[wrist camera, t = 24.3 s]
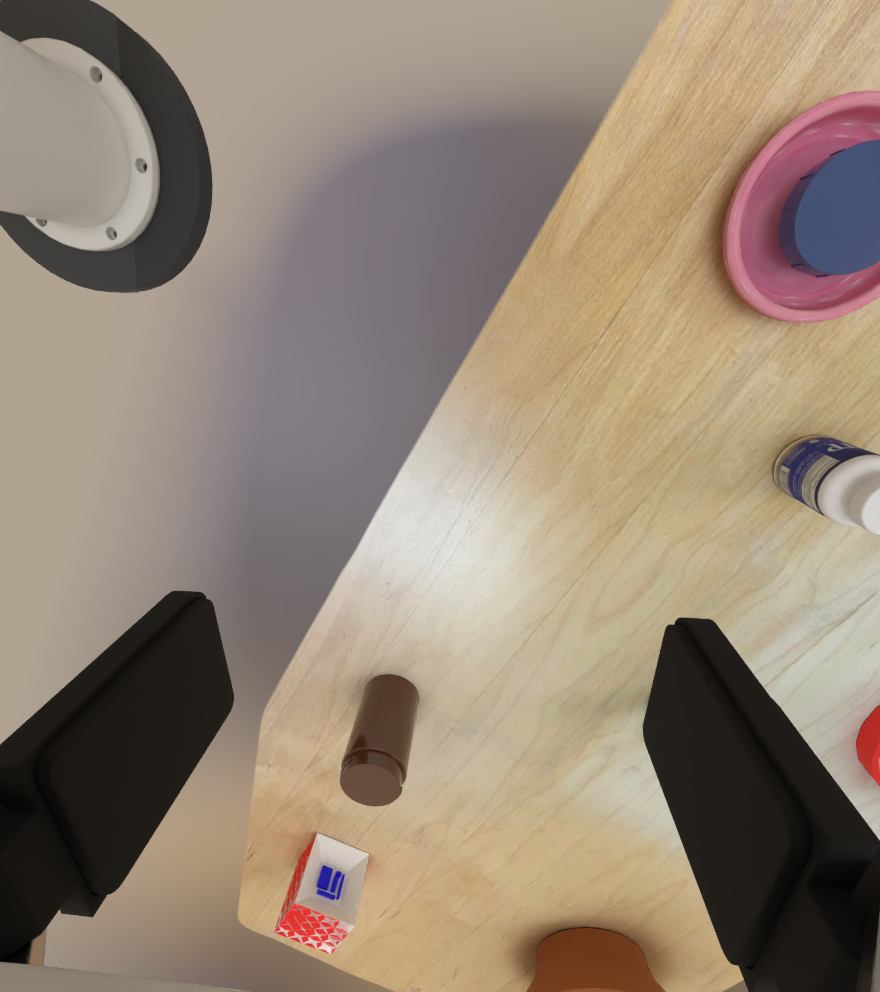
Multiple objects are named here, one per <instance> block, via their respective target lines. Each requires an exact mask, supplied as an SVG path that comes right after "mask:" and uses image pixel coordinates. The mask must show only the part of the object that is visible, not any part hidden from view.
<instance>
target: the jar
mask: <svg viewBox="0 0 880 992" xmlns="http://www.w3.org/2000/svg"><path fill="white" fill-rule="evenodd" d="M418 703H419V695H418V692H417V690H416V688H415V687H414V686H413V685H412V684H411V683H410V682H409V681H408V680H406V679H404V678H402V677H399V676H395V675H381V676H378V677H375V678H373V679H372V680H371V681H369V683H368V684H367V685H366V687H365V690H364V693H363V696H362V700H361V703H360V706H359V709H358V712H357V715H356V719H355V722H354V725H353V728H352V731H351V735H350V738H349V741H348V744H347V747H346V750H345V754H344V757H343V760H342V764H341V768H342V770H341V776H340V777H341V778H340V785H341V788H342V790H343V791H344V793H345V794H346V795H347V796H348V797H349V798H351V799H352V800H354V801H356V802H358V803H360V804H363V805H367V806H384V805H387V804H390V803H392V802H393V801H395V800H396V799H397V798H398V797H399V796H400V794H401V792H402V787H401V786H402V785H403V783H404V782H405V779H406V775H407V769H408V763H409V757H410V751H411V745H412V739H413V733H414V727H415V721H416V715H417V709H418Z"/></svg>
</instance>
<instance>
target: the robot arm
mask: <svg viewBox="0 0 880 992" xmlns="http://www.w3.org/2000/svg"><path fill="white" fill-rule="evenodd" d="M159 189H160V165H159V159H158V153H157V147H156V144H155V140H154V137H153V134H152V131H151V128H150V125H149V123H148V121H147V119H146V117H145V115H144V113H143V111H142V109H141V107H140V105H139V104H138V102H137V101H136V99H135V98H134V96H133V94H132V93H131V91H130V90H129V88H128V87H127V86H126V85H125V84H124V83H123V82H122V81H121V80H120V78H119V77H118V76H117V75H116V74H115V73H114V72H113V71H112V70H110V69H109V68H108V67H107V66H106V65H104V64H103V63H102V62H101V61H99V60H98V59H96V58H95V57H93V56H92V55H90V54H88V53H87V52H85V51H84V50H82V49H81V48H79V47H76V46H74V45H72V44H69V43H67V42H65V41H61V40H56V39H50V38H34V39H28V40H25V41H22V42H18V41H17V40H15V39H13V38H12V37H10V36H8V35H6V34H5V33H3V32H1V31H0V211H4V212H9V213H14V214H19V215H24V216H25V217H26V218H27V219H28V220H29V221H30V222H31V223H32V224H33V225H34V226H35V227H37V228H38V229H39V230H41V231H42V232H44V233H45V234H46V235H48V236H49V237H51V238H53V239H55V240H57V241H58V242H60V243H62V244H64V245H67V246H71V247H74V248H77V249H81V250H88V251H95V252H98V251H112V250H116V249H119V248H123V247H124V246H126V245H128V244H130V243H131V242H133V241H135V240H136V239H137V238H138V237H139V236H140V235H141V234H142V233H143V232H144V230H145V229H146V227H147V226H148V224H149V222H150V221H151V219H152V217H153V214H154V211H155V208H156V206H157V203H158V196H159ZM233 702H234V693H233V689H232V684H231V680H230V675H229V671H228V667H227V662H226V658H225V654H224V649H223V645H222V641H221V636H220V632H219V628H218V624H217V619H216V615H215V610H214V606H213V603H212V602H211V601H210V600H208V599H206V596H205V595H204V594H203V593H201V592H191V591H172V592H170V593H169V594H168V595H166V596H165V597H164V598H163V599H162V600H161V601H160V602H158V603H157V604H156V605H155V606H154V607H153V608H152V609H151V610H150V611H148V612H147V613H146V614H145V615H144V616H143V617H142V618H141V619H140V620H138V621H137V622H136V623H135V624H134V625H133V626H132V627H131V628H130V629H128V630H127V631H126V632H125V633H124V634H123V635H122V636H121V637H120V638H118V639H117V640H116V641H115V642H114V643H113V644H112V645H111V646H109V647H108V648H107V649H106V650H105V651H104V652H103V653H102V654H101V655H99V656H98V657H97V658H96V659H95V660H94V661H93V662H92V663H91V664H90V665H88V666H87V667H86V668H85V669H84V670H83V671H82V672H81V673H79V674H78V675H77V676H76V677H75V678H74V679H73V680H72V681H71V682H69V683H68V684H67V685H66V686H65V687H64V688H63V689H62V690H61V691H59V693H57V694H56V695H55V696H54V697H53V698H52V699H51V700H50V701H48V702H47V703H46V704H45V705H44V706H43V707H42V708H41V709H39V710H38V711H37V712H36V713H35V714H34V715H33V716H32V717H31V718H29V719H28V720H27V721H26V722H25V723H24V724H23V725H22V726H21V727H20V728H18V729H17V730H16V731H15V732H14V733H13V734H12V735H11V736H10V737H8V738H7V739H6V740H5V741H4V742H3V743H2V744H1V745H0V992H253V991H245V990H237V989H229V988H221V987H213V986H205V985H195V984H188V983H180V982H171V981H164V980H155V979H147V978H139V977H131V976H122V975H114V974H106V973H98V972H89V971H81V970H73V969H64V968H57V967H49V966H44V954H45V942H46V930H47V926H48V925H49V923H50V922H51V920H52V919H53V918H54V916H55V915H56V913H57V912H58V910H59V909H60V911H61V913H62V914H70V915H79V916H88V917H93V916H94V915H95V913H96V911H97V910H98V908H99V907H100V905H101V904H102V902H103V901H104V899H105V898H106V895H108V894H111V893H113V892H115V891H116V890H117V889H118V888H119V887H120V885H121V884H122V882H123V881H124V880H125V878H126V877H127V875H128V874H129V872H130V870H131V869H132V867H133V866H134V864H135V862H136V861H137V859H138V858H139V856H140V854H141V853H142V851H143V850H144V848H145V846H146V845H147V843H148V842H149V840H150V838H151V837H152V835H153V834H154V832H155V831H156V829H157V827H158V826H159V824H160V823H161V821H162V820H163V818H164V816H165V814H166V813H167V812H168V810H169V808H170V807H171V805H172V804H173V802H174V800H175V799H176V797H177V796H178V794H179V793H180V791H181V789H182V788H183V786H184V785H185V783H186V781H187V780H188V778H189V777H190V775H191V774H192V772H193V770H194V769H195V767H196V766H197V764H198V762H199V761H200V759H201V758H202V756H203V754H204V753H205V751H206V750H207V748H208V746H209V745H210V743H211V742H212V740H213V739H214V737H215V735H216V734H217V732H218V731H219V729H220V727H221V726H222V724H223V723H224V721H225V719H226V718H227V716H228V715H229V713H230V711H231V709H232V706H233ZM643 736H644V741H645V745H646V747H647V750H648V753H649V755H650V758H651V761H652V764H653V766H654V769H655V772H656V774H657V777H658V780H659V782H660V785H661V788H662V790H663V793H664V796H665V798H666V801H667V804H668V806H669V809H670V812H671V814H672V817H673V820H674V822H675V825H676V828H677V830H678V833H679V836H680V838H681V841H682V844H683V846H684V849H685V852H686V854H687V857H688V860H689V863H690V865H691V868H692V871H693V873H694V876H695V879H696V881H697V884H698V887H699V889H700V892H701V895H702V897H703V900H704V903H705V905H706V908H707V911H708V913H709V916H710V919H711V921H712V924H713V927H714V929H715V932H716V935H717V937H718V940H719V943H720V945H721V948H722V950H723V952H724V954H725V956H726V958H727V960H728V961H729V962H730V963H731V964H733V965H739V968H740V970H741V973H742V976H743V978H744V981H745V983H746V986H747V988H748V991H749V992H880V840H879V839H878V838H877V836H876V835H875V834H874V832H873V831H872V830H871V828H870V827H869V826H868V824H867V823H866V822H865V820H864V819H863V818H862V816H861V815H860V814H859V812H858V811H857V810H856V808H855V807H854V806H853V804H852V803H851V802H850V800H849V799H848V798H847V796H846V795H845V794H844V792H843V791H842V790H841V788H840V787H839V786H838V784H837V783H836V782H835V780H834V779H833V777H832V776H831V775H830V773H829V772H828V771H827V769H826V768H825V767H824V765H823V764H822V763H821V761H820V760H819V759H818V757H817V756H816V755H815V753H814V752H813V751H812V749H811V748H810V747H809V745H808V744H807V743H806V741H805V740H804V739H803V737H802V736H801V735H800V733H799V732H798V731H797V729H796V728H795V727H794V725H793V724H792V723H791V721H790V720H789V719H788V717H787V716H786V715H785V713H784V712H783V711H782V709H781V708H780V707H779V705H778V704H777V703H776V702H775V701H774V700H773V699H772V698H771V697H770V696H769V694H768V693H767V692H766V690H765V689H764V688H763V686H762V685H761V684H760V682H759V681H758V680H757V678H756V677H755V676H754V674H753V673H752V672H751V670H750V669H749V668H748V666H747V665H746V663H745V662H744V661H743V659H742V658H741V657H740V655H739V654H738V653H737V651H736V650H735V649H734V647H733V646H732V645H731V643H730V642H729V641H728V639H727V638H726V637H725V635H724V634H723V633H722V631H721V630H720V628H719V627H718V626H717V624H716V623H715V622H714V621H713V620H710V619H699V618H678V619H677V620H676V621H675V624H674V625H668V626H667V627H666V629H665V633H664V637H663V641H662V646H661V650H660V654H659V658H658V663H657V667H656V671H655V676H654V680H653V684H652V688H651V693H650V697H649V701H648V706H647V710H646V714H645V718H644V723H643Z"/></svg>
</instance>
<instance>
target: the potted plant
mask: <svg viewBox="0 0 880 992" xmlns="http://www.w3.org/2000/svg"><path fill="white" fill-rule="evenodd" d="M527 992H665V991H664V989H663V988H662V987H661V986H660V985H659V984H658V983H657V982H656V981H655V980H654V978H653V976H652V974H651V971H650V969H649V967H648V965H647V962H646V958H645V955H644V953H643V951H642V949H641V948H640V947H639V946H638V945H637V944H636V943H634V942H633V941H632V940H630V939H628V938H627V937H625V936H623V935H620V934H618V933H615V932H612V931H608V930H603V929H596V928H575V929H568V930H564V931H560V932H557V933H555V934H553V935H551V936H549V937H548V938H546V939H545V940H544V941H543V942H542V943H541V944H540V945H539V946H538V948H537V951H536V971H535V978H534V979H533V981H532V983H531V985H530V987H529V988H528V990H527Z"/></svg>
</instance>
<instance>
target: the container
mask: <svg viewBox="0 0 880 992" xmlns="http://www.w3.org/2000/svg"><path fill="white" fill-rule="evenodd" d="M856 747H857V754H858V759H859V761H860V762H861V763H862V765H863V766H864V767H865V769H866V770H867V771H868V773H869V774H870V775H871V776H872V777H873V779H874V780H875V781H876V782H877V783H878V785H879V786H880V706H879V707H877V708H876V709H875V711H874V712H873V713H872V714H871V715H870V716H869V718H868V719H867V720H866V721H865V722H864V724H863V725H862V727H861V730H860V733H859V736H858V738H857V741H856Z"/></svg>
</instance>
